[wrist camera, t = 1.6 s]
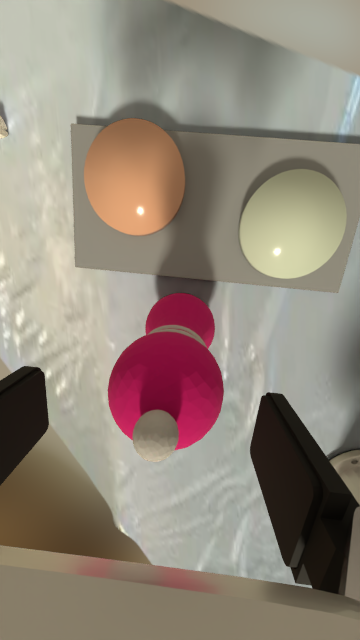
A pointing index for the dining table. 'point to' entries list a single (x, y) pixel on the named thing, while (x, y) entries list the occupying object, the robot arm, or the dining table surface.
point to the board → (215, 209)
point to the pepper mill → (168, 379)
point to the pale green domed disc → (292, 224)
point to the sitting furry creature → (3, 128)
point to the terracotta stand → (134, 177)
